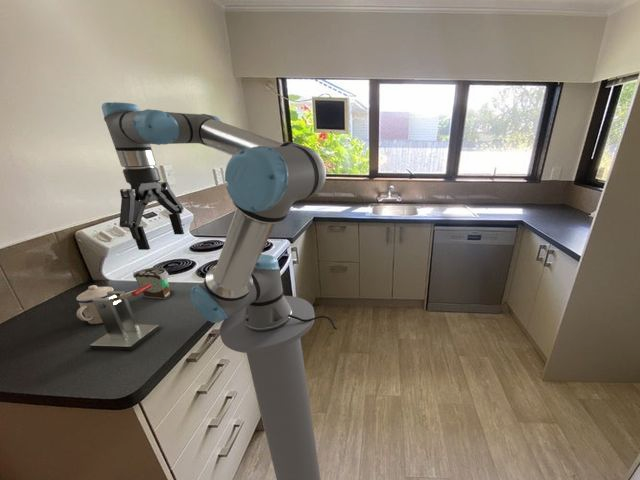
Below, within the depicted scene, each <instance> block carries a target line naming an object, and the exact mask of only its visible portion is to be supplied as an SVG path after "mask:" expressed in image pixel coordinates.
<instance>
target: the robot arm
mask: <svg viewBox="0 0 640 480" xmlns="http://www.w3.org/2000/svg"><path fill="white" fill-rule="evenodd" d="M101 110H102V115H103V120H104V122H105V124H106V126H107V129H108V133H109V135H110V139H111V141H112V143H113V146H114V149H115V152H116V155H117V159H118V161H119V164H120V166H121V167H123V170H122V174H123V177H124V179H125V182H126V183H127V184H129V186H130V188H120V190H119V193H120V198H121V202H120V203H121V204H120V211H119V212H120V213H119V225H118V226H119V227H120V228H125V229H127V228H128V229H129V231H130V232H129V233H130V234H131V237H132V239H133V240H135V243H136V246H137V250H138V251H139V250H140V251H149V250H151V247H150V244H149V241H148V238H147V234H146V232H145V229H144V226H140V225H141V222H142V218H143V215H144V212H145V210H146V206H148V205H149V204H150V203H152V202H157V203H158V204H159V205H160V206H162V207H163V208H164V209H165V210H166V211H168V212H169V214H168V218H169V221H170V224H171V227H172V231H173V234H174V235H185V231H184V227H183V225H182V219H181V214H183V210H184V206H183V204H182V203H181V202H180V200H179V199H178V198H177V196H176V195H175V193H174V192H173V190H172V189H171V187H170V184H169V182H168V181H165V182H164V181H161V180H162V179H161V175H160V173H159V169H158V168H157V167H155V166H156V165H157V162H156V158H155V155H154V152H153V149H152V146H151V145H157V146H158V145H159V146H161V145H174V144H175V145H178V144H179V145H180V144H181V145H182V144H200V145H203V146H206V147H209V148H211V149H213V150H217V151H218V152H221V153H224V154H227V155H229V156H231V158H230V159H229V161H228V162H227V165H226V168H225V173H224V181H225V183H227V186H225V188H226V191H227V194H228V195H229V197H230V199H231V200H232V203H233V205H234V207H235V208H236V209H235V211H234V214H233V217H232V220H231V222H230V225H229V227H228V228H229V229H228V231H227V234H226V237H225V241H224V243H223V244H222V245H223V246H222V248H221V251H220V254H219V257H218V260H217V263H216V265H214V266H212V267H211V268H210V269H208V271H207V272H206V274H205V278H204V280H203V282H201V283H199V284H196V285H195V286H192V287H191V288H190V290H189V297H190V300H191V304H192V305H193V306H194V308H195V310H196V311H197V313H199V315H200V316H201V317H203V319H204V320H206V321H208V322H210V323H213V324H218V323H222V322H223V321H224V320H225V319H227V318H228V317H229V316H231V315H233V314H234V313H236V312H238V311H239V310H241V309H243V308H244V307H246V311H245V314H244V321H245V325H246V327H247V328H248V329H249V330H252V331H256V332H265V331H271V330H274V329H277V328H279V327H281V326H283V325H285V324H286V323H287V322H288V321H289V320H290V319H291V317H292V318H295V319H298V320H300V321H304V322H307V321H312V320H314V321H315V320H317V319H321V318H323V319H327V320H328V321H329V322H330V323H331V326H332V327H333V329H334V330H335V331H336V330H338V328H337V327H336V325H335V322H334V321H333V319H332V318H331V317H330V316H328V315H319V316H318V315H317V316H315V317H314V318H312V319H307V320H304V319H301V318H298V317H295V316H292V310H291V307H290V305H289V304H288V302H287V300H286V299H285V297H284V296H285V294H284V288H283V283H282V282H283V281H282V277H281V267H280V265H279V260H278V258H277V257H276V256H273V255H271V254H265V253H264V254H263V251H264V249H265V248H266V244H267V243H268V240H269V238H270V236H271V234H272V231H273V229H274V227H275V225H276V224H279V223H281V222H283V221H284V220H286V218H287V217H288V214H289V213H290V210H291V208H292V206H293V204H294V203H295V202H297V201H301V200H304V199H307V198H310V197H313V196H315V195H316V194H318V193H319V192H320V191H321V190H322V189H323V186H324V185H325V182H326V178H327V167H326V164H325V162H324V160H323V158H322V157H321V155H320V154H319V153H318V152H317V150H315V149H313V148H311V147H309V146H306V145H302V144H300V143H296V142H293V141H284V142H281V141H277V140H275V139H271V138H268V137H266V136H262V135H260V134H257V133H254V132H251V131H249V130H245V129H242V128H241V127H238V126H237V127H236V126H234V125H231V124H228V123H226V122H223V121H222V120H220V118H219V117H218V116H217V115H211V114H207V113H184V112H183V113H182V112H174V111H173V112H170V111H163V110H159V109H149V108H148V109H143V110H141V109H140V107H139V106H138V105H137V104H135V103H129V102H118V101H117V102H115V101H114V102H103V103H102V104H101Z"/></svg>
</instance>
